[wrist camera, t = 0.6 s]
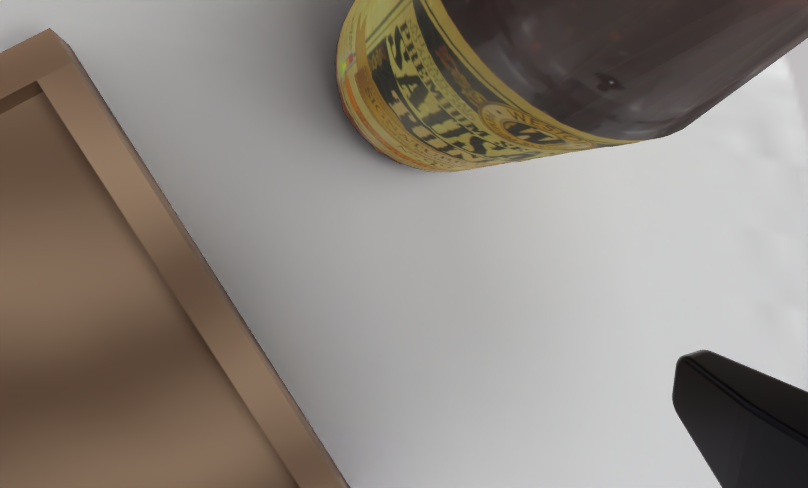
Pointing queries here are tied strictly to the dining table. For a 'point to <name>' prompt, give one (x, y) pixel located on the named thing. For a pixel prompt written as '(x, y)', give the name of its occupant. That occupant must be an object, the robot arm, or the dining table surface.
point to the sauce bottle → (546, 72)
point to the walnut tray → (120, 314)
